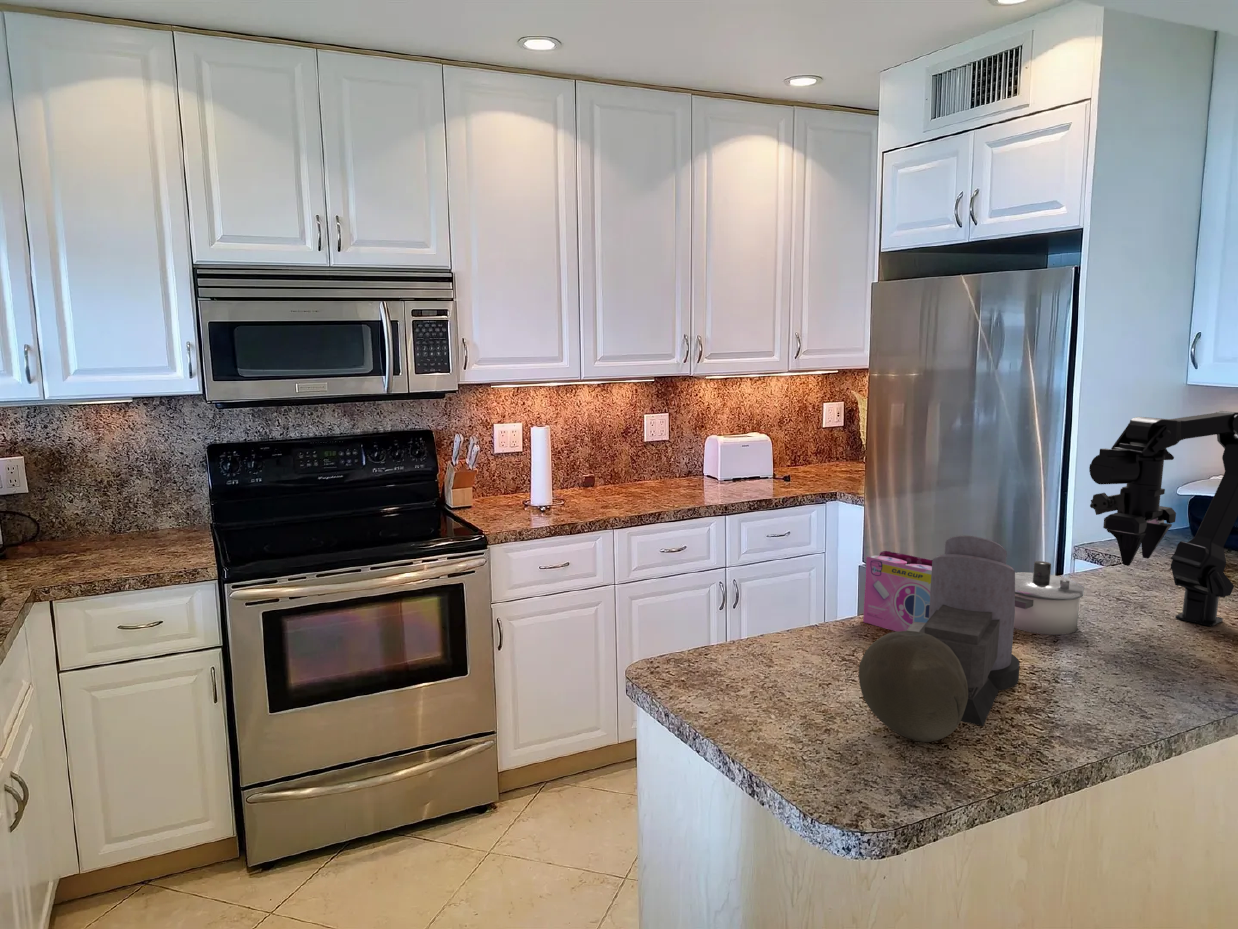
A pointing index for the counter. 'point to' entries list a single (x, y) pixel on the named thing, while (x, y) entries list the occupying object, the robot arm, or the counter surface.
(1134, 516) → the robot arm
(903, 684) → the cantaloupe
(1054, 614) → the cooker pot
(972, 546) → the juicer
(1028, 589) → the cooker lid
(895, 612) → the pink product box
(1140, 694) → the counter surface
